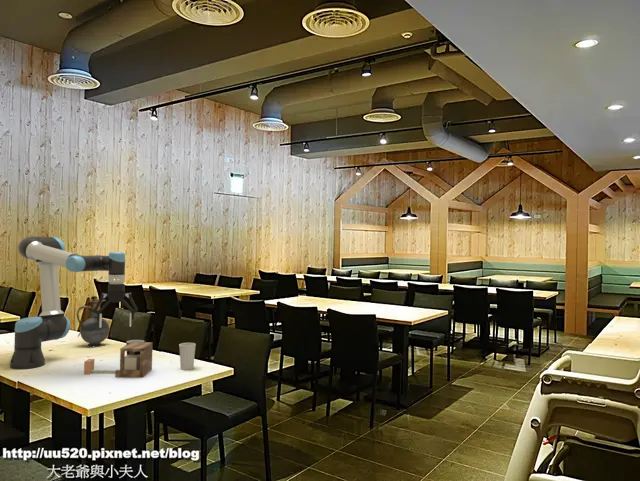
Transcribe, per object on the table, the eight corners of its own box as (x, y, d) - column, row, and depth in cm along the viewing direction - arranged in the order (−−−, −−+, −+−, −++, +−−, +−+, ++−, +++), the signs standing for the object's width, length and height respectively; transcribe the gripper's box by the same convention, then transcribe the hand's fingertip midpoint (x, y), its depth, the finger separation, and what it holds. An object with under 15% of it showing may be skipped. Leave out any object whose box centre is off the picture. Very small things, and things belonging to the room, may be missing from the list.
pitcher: (111, 345, 305) (112, 295, 305) (80, 349, 290) (81, 297, 291) (102, 342, 312) (103, 294, 312) (71, 347, 297) (72, 296, 297)
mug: (128, 363, 259) (128, 343, 259) (123, 360, 266) (124, 340, 267) (151, 360, 266) (152, 341, 266) (147, 357, 273) (147, 338, 273)
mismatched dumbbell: (83, 374, 235) (84, 357, 235) (89, 371, 241) (89, 354, 241) (136, 374, 237) (136, 357, 237) (139, 371, 243) (140, 354, 243)
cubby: (115, 377, 232) (116, 348, 232) (125, 369, 247) (126, 342, 247) (142, 377, 232) (143, 348, 233) (151, 369, 247) (152, 342, 248)
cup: (180, 370, 246) (181, 346, 246) (177, 367, 253) (177, 343, 253) (196, 369, 249) (197, 345, 249) (193, 365, 256) (193, 342, 256)
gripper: (87, 284, 239) (86, 329, 239) (143, 283, 247) (142, 327, 247) (89, 283, 246) (88, 326, 246) (143, 282, 254) (142, 324, 254)
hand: (115, 326), depth 246 cm, fingers open, 13 cm apart
